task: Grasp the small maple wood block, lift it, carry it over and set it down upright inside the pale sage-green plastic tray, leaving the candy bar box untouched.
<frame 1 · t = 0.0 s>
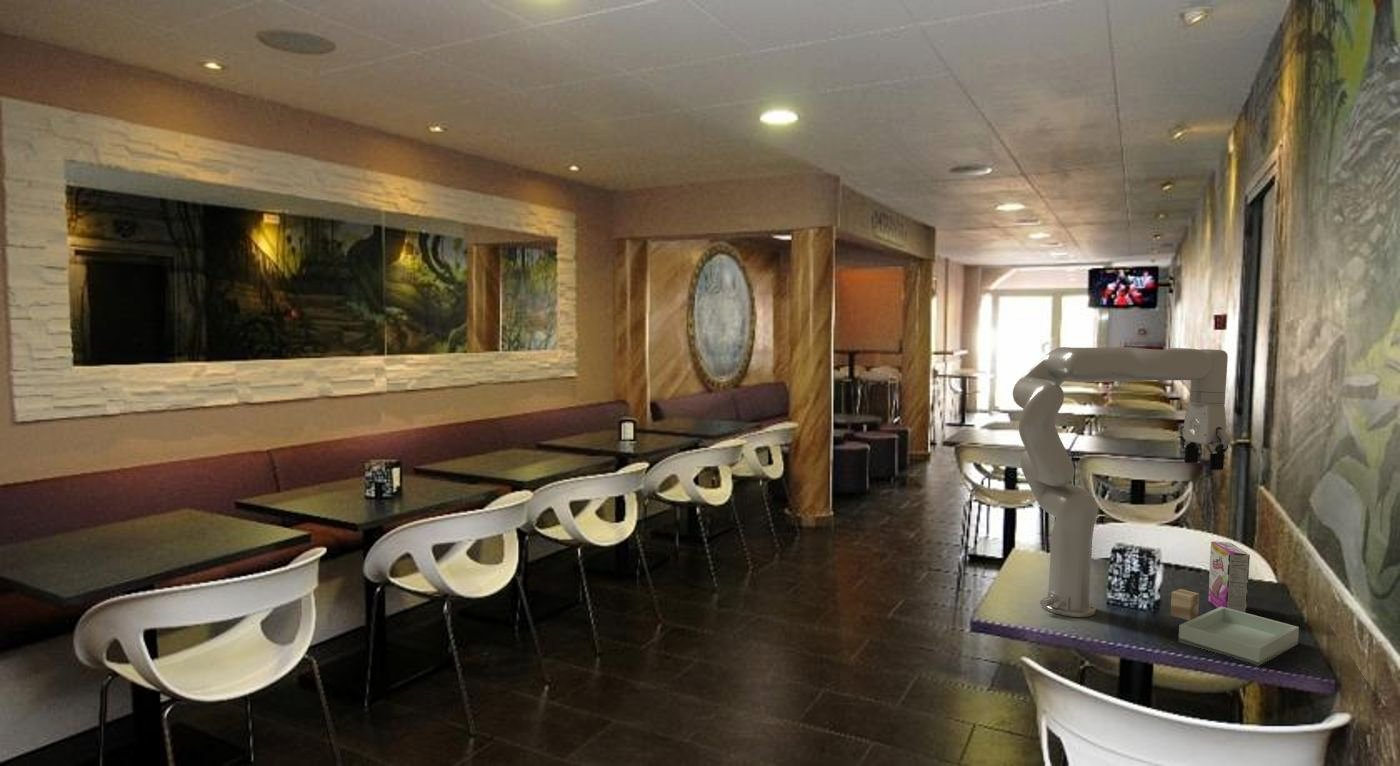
hand: (1203, 465, 201), 37 cm above the table, tool pointing down, fingers open, 9 cm apart
maple block: (1184, 616, 200), on the table
tray: (1238, 643, 183), on the table
candy bar box: (1226, 610, 204), on the table
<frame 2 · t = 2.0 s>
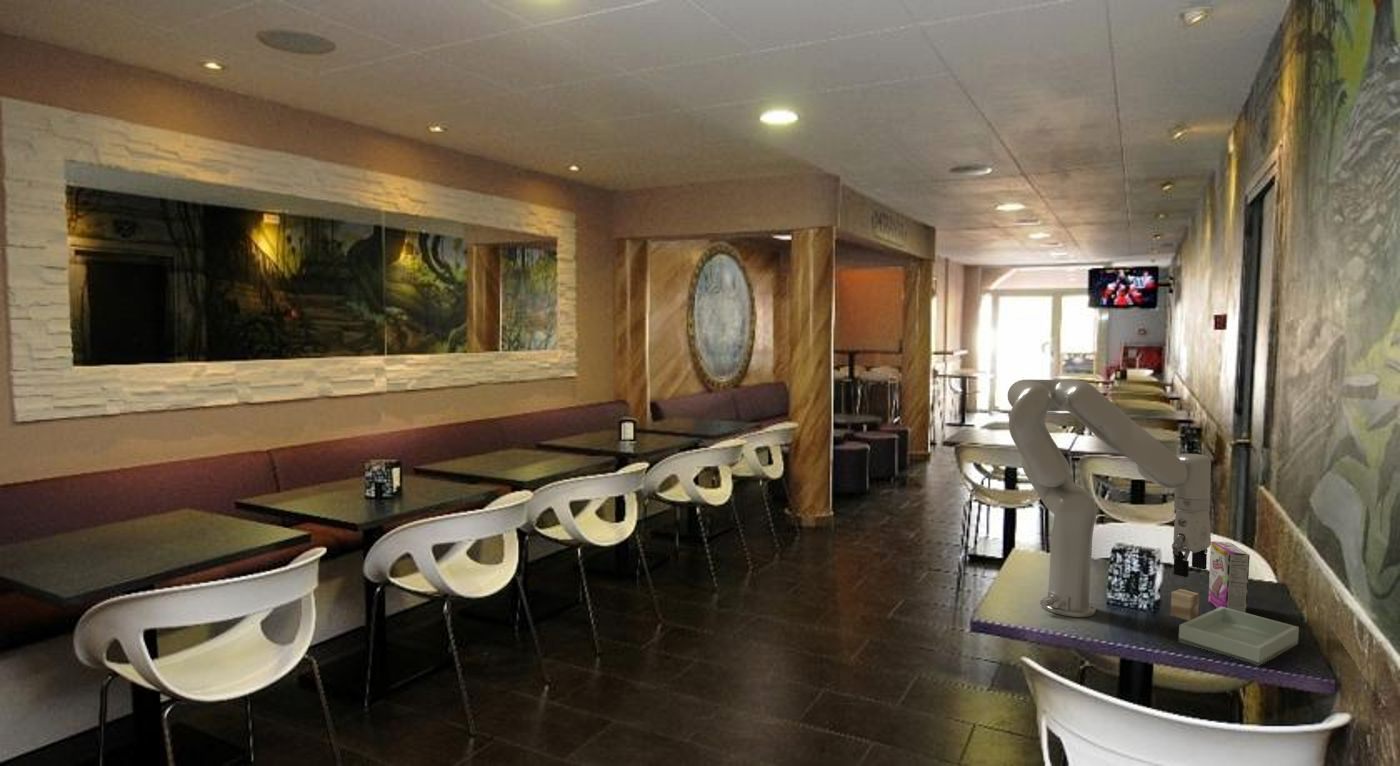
hand: (1190, 571, 199), 11 cm above the table, tool pointing down, fingers open, 9 cm apart
nothing on the table moved.
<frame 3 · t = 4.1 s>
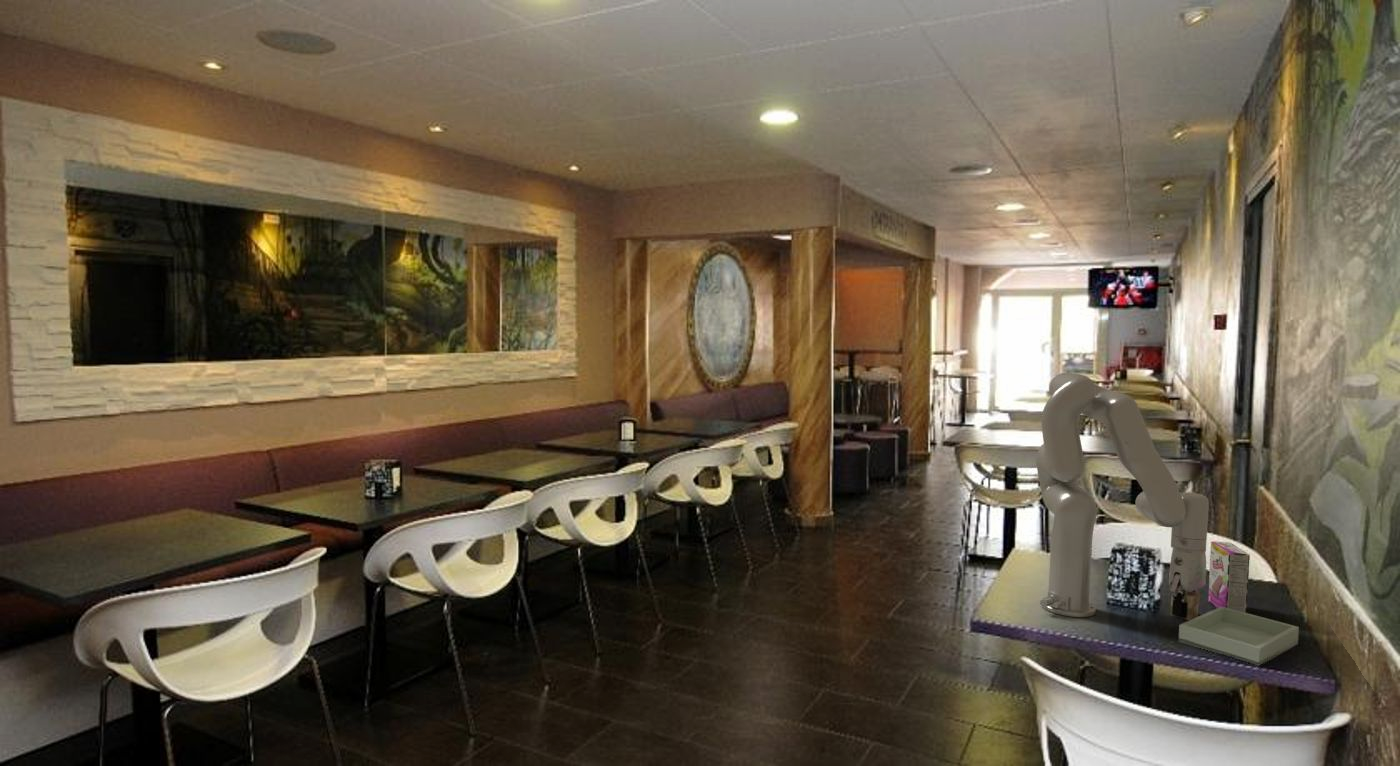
hand: (1184, 613, 200), 1 cm above the table, tool pointing down, fingers closed on maple block, 4 cm apart
maple block: (1184, 616, 200), on the table, touching gripper
everything else where it was.
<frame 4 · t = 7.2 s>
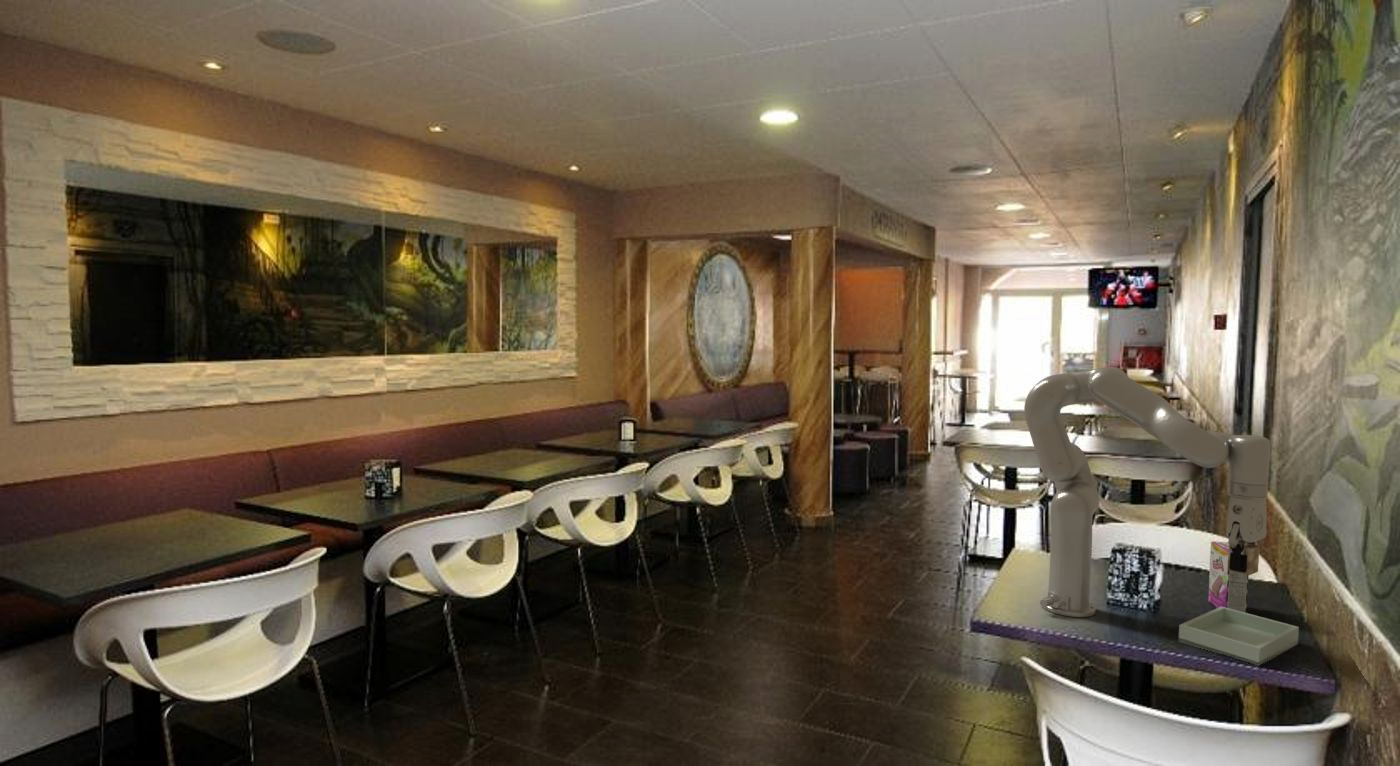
hand: (1242, 568, 182), 17 cm above the table, tool pointing down, fingers closed on maple block, 4 cm apart
maple block: (1242, 570, 182), point 17 cm above the table, touching gripper
everything else where it was.
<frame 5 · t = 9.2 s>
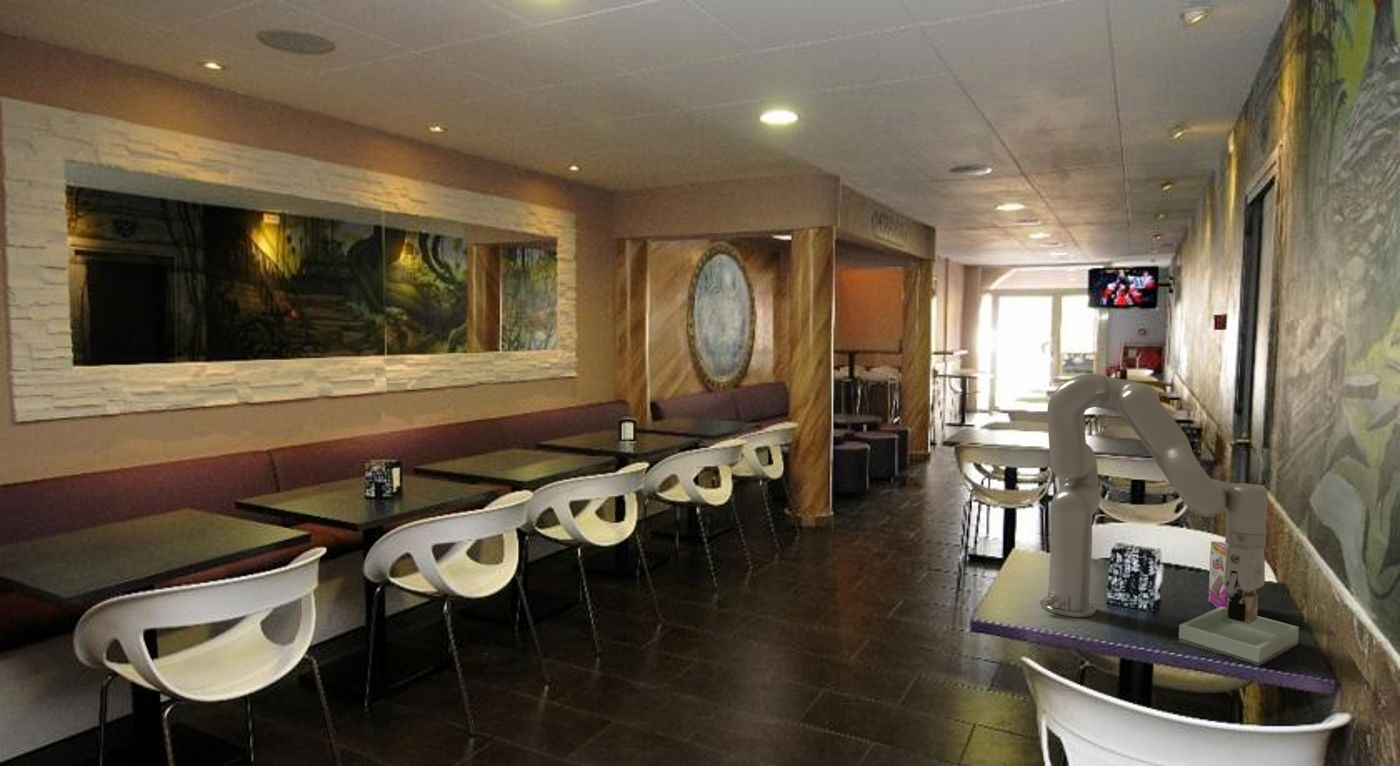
hand: (1241, 616, 182), 6 cm above the table, tool pointing down, fingers closed on maple block, 4 cm apart
maple block: (1241, 619, 182), point 6 cm above the table, touching gripper
everything else where it was.
when the fingers open (3 cm above the table, at t = 10.7 s): maple block drops 1 cm, resting on tray.
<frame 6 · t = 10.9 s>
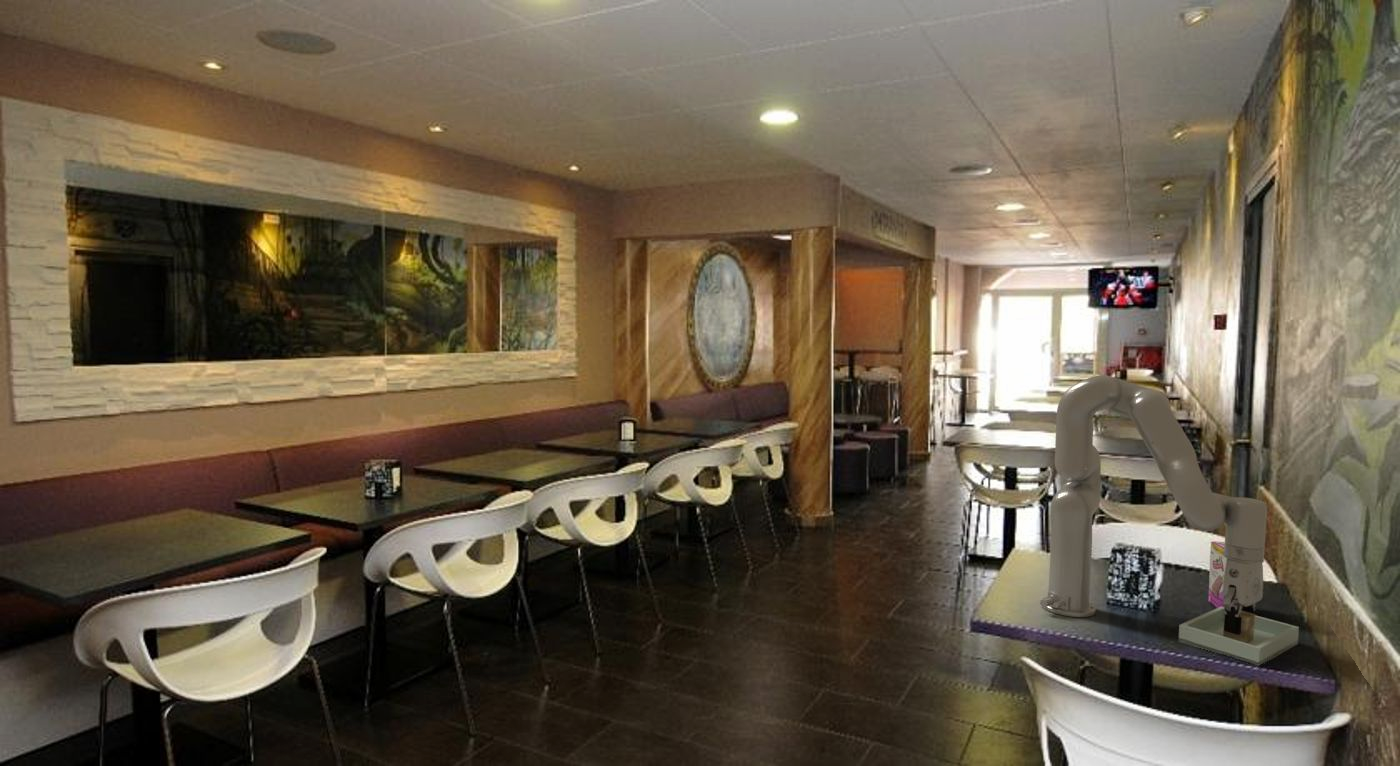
hand: (1238, 628, 183), 3 cm above the table, tool pointing down, fingers open, 6 cm apart
maple block: (1238, 638, 183), point 1 cm above the table, touching tray
everything else where it was.
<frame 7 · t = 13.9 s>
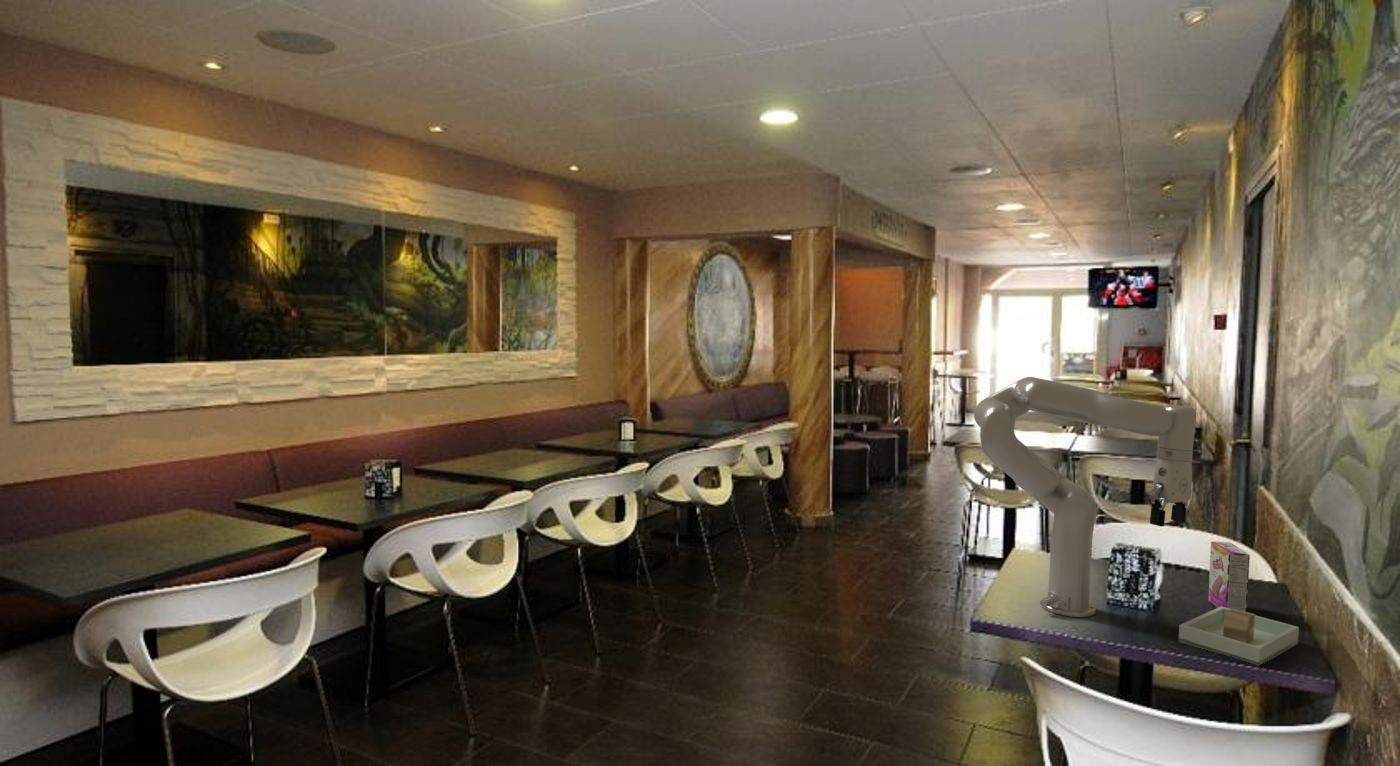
hand: (1167, 523, 198), 23 cm above the table, tool pointing down, fingers open, 9 cm apart
nothing on the table moved.
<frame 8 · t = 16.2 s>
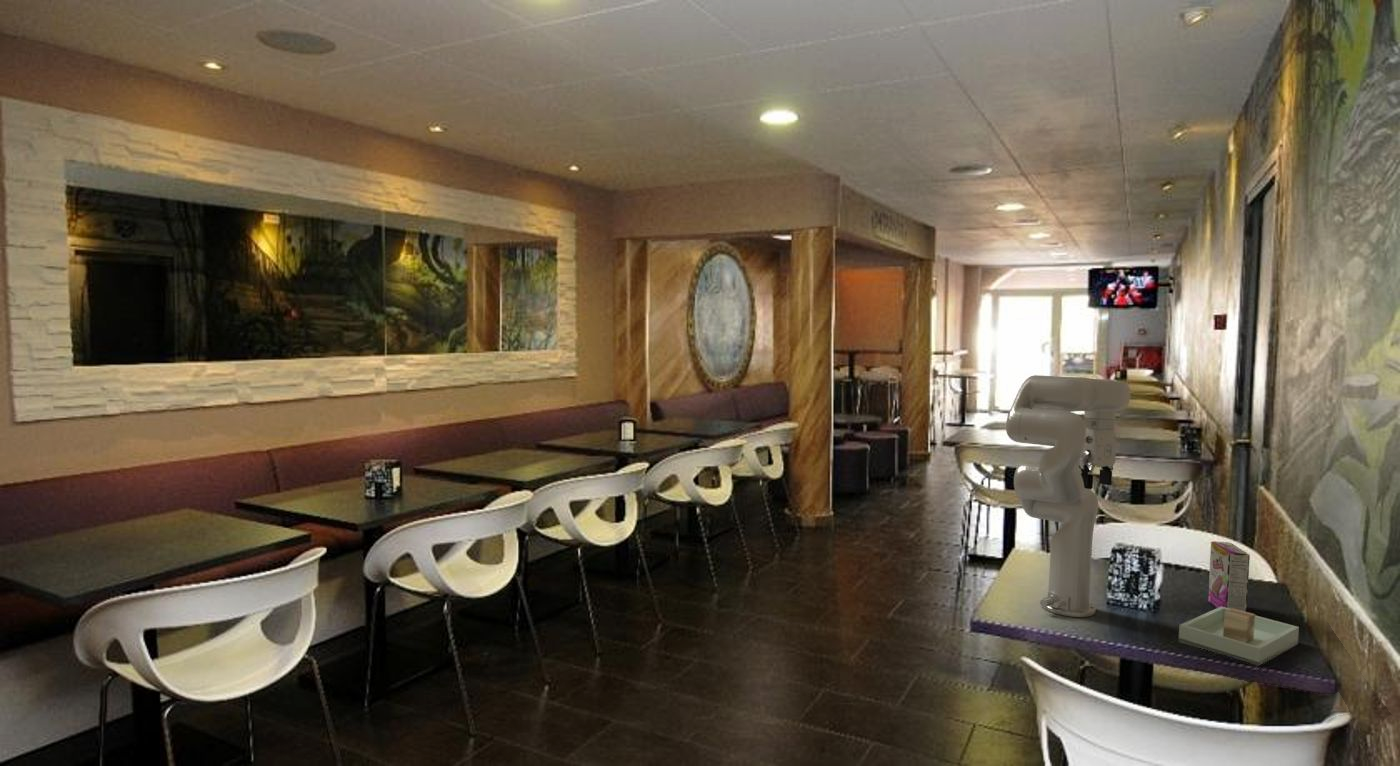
hand: (1095, 486, 219), 28 cm above the table, tool pointing down, fingers open, 9 cm apart
nothing on the table moved.
at the end: maple block inside the target area on the tray (0.1 cm from its centre), point 1.0 cm above the tray's base; maple block tilted 0°; the gripper is holding nothing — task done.
